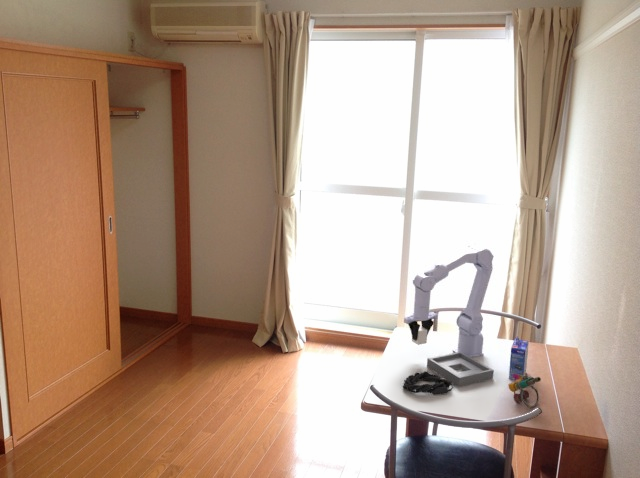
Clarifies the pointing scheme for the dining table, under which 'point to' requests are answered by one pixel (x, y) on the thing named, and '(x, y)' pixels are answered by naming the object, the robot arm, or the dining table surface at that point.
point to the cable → (427, 388)
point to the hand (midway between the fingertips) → (419, 338)
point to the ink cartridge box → (518, 359)
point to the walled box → (453, 361)
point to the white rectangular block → (421, 336)
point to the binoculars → (524, 393)
